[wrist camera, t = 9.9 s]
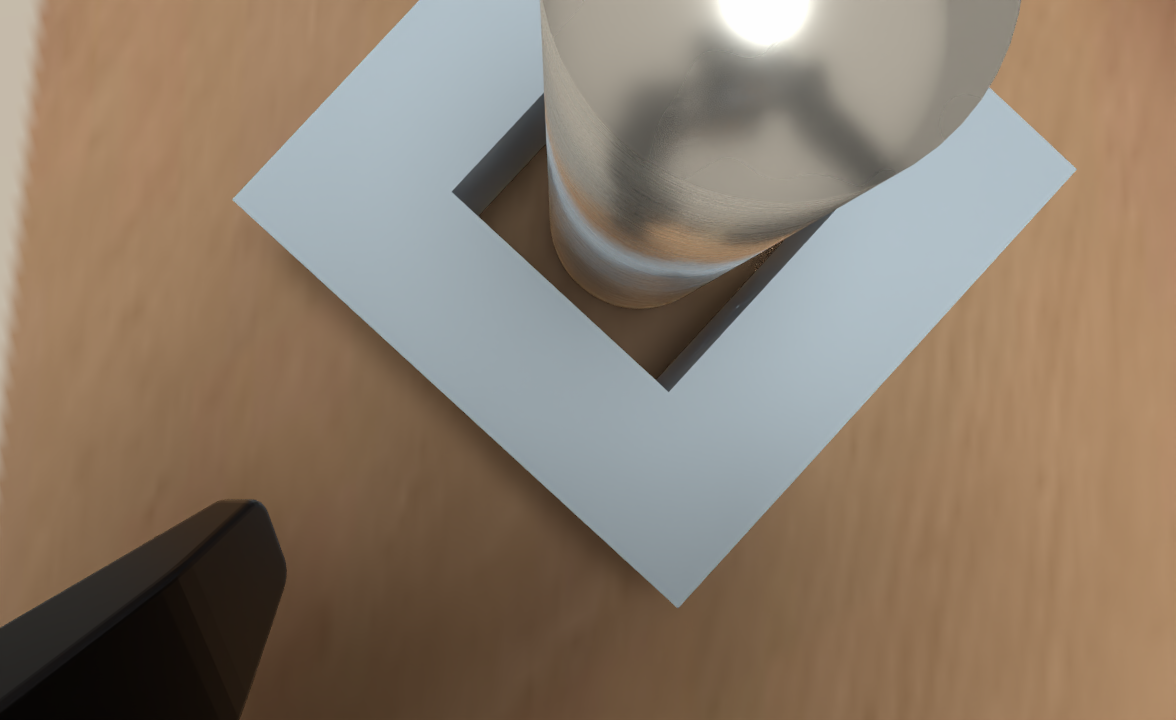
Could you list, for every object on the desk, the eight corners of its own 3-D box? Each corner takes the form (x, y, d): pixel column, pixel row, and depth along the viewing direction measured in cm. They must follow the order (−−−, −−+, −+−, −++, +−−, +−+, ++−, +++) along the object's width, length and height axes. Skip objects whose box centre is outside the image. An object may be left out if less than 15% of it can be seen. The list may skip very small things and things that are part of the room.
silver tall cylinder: (644, 345, 22) (797, 303, 8) (512, 224, 22) (435, -33, 8) (764, 215, 22) (1122, -52, 8) (633, 94, 22) (768, -388, 8)
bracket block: (656, 564, 22) (677, 608, 18) (292, 230, 22) (231, 199, 18) (983, 205, 22) (1076, 169, 18) (627, -128, 22) (642, -237, 18)
